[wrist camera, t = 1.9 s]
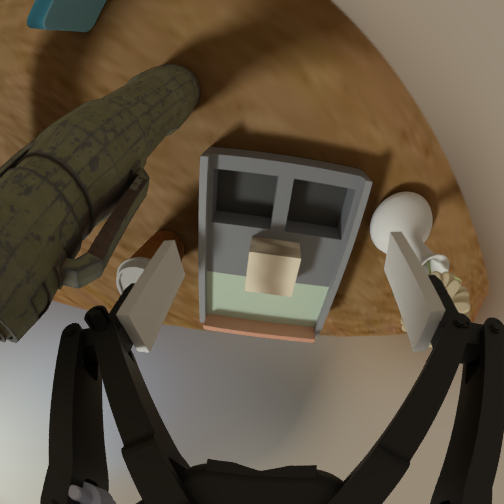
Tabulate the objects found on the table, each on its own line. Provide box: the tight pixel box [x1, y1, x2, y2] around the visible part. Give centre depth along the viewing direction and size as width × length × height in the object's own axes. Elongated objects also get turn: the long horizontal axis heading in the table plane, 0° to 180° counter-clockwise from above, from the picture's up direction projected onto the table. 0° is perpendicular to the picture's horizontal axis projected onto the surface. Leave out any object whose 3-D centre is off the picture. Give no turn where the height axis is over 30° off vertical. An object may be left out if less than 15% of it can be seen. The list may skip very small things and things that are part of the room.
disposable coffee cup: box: [116, 230, 185, 294], centre depth 43 cm, size 10×10×12 cm
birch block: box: [245, 236, 301, 297], centre depth 41 cm, size 7×7×4 cm
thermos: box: [0, 64, 200, 343], centre depth 20 cm, size 9×12×35 cm
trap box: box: [198, 147, 373, 342], centre depth 43 cm, size 22×30×7 cm
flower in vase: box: [370, 192, 470, 347], centre depth 31 cm, size 13×11×25 cm
